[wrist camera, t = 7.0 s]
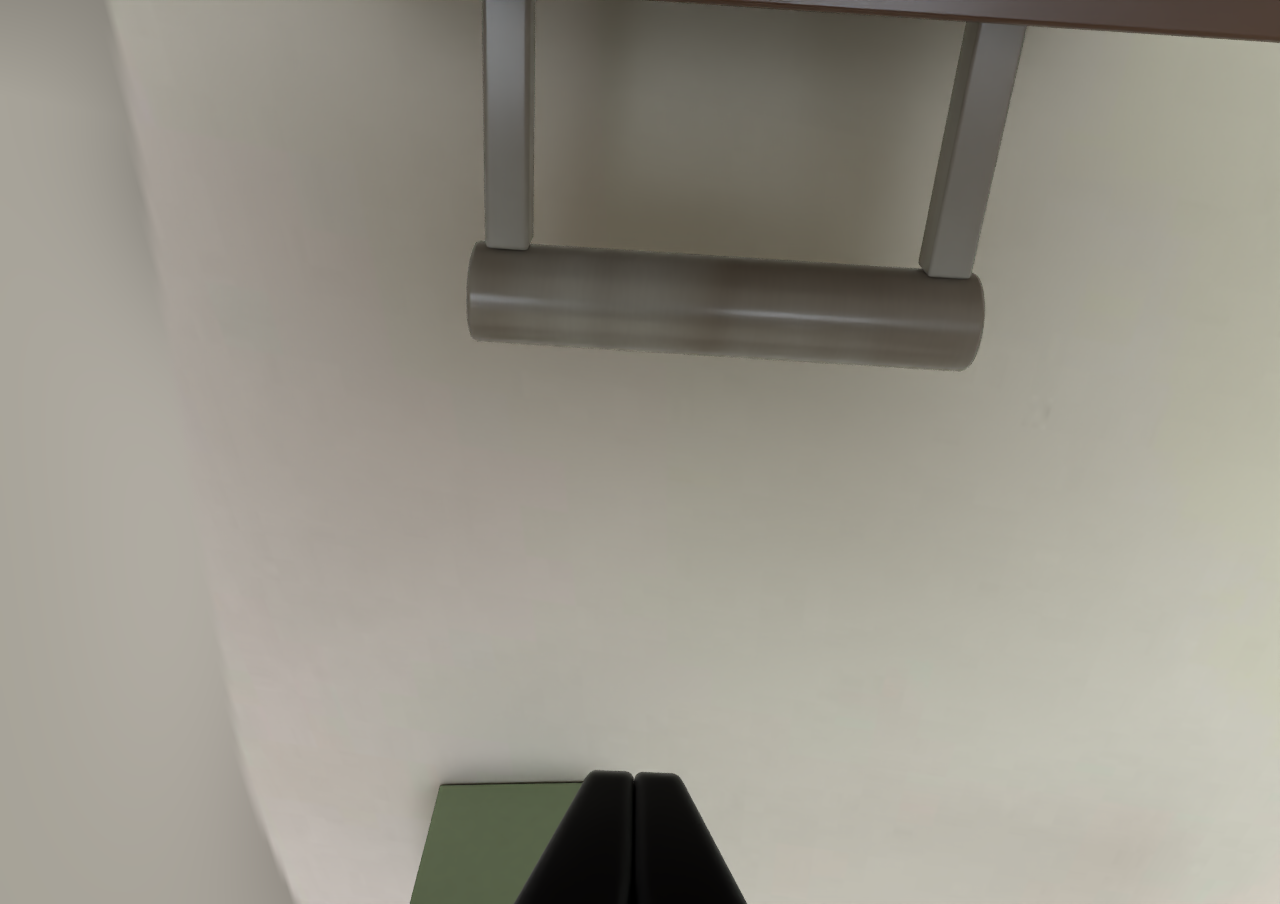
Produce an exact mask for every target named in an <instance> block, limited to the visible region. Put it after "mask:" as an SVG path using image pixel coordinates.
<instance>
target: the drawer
mask: <svg viewBox="0 0 1280 904" xmlns="http://www.w3.org/2000/svg"><path fill="white" fill-rule="evenodd" d="M649 1H664V2H679V3H694V4H709V5H724V6H739V7H753V8H768V9H783V10H798V11H813V12H828V13H843V14H858V15H873V16H888V17H903V18H918V19H933V20H948V21H962V22H966V25H965V30H964V35H963V40H962V45H961V50H960V55H959V60H958V65H957V70H956V75H955V80H954V85H953V90H952V95H951V100H950V105H949V110H948V115H947V121H946V126H945V131H944V136H943V141H942V146H941V151H940V156H939V161H938V166H937V171H936V176H935V181H934V186H933V191H932V196H931V201H930V206H929V211H928V216H927V221H926V227H925V232H924V237H923V242H922V247H921V252H920V257H919V265H920V266H921V268H922V269H917V268H901V267H886V266H870V265H854V264H838V263H823V262H807V261H791V260H776V259H760V258H744V257H729V256H713V255H697V254H682V253H666V252H650V251H634V250H619V249H603V248H587V247H572V246H556V245H540V244H530V243H531V241H532V238H533V221H534V111H535V2H536V0H482V55H483V125H484V195H485V241H479V242H476V243H475V245H474V247H473V249H472V252H471V256H470V261H469V267H468V276H467V296H466V304H467V321H468V328H469V332H470V335H471V337H472V339H473V340H475V341H478V342H495V343H511V344H527V345H543V346H559V347H575V348H591V349H607V350H623V351H639V352H655V353H671V354H687V355H703V356H719V357H735V358H751V359H767V360H783V361H799V362H815V363H831V364H847V365H863V366H879V367H895V368H911V369H927V370H943V371H963V370H965V369H967V368H968V367H969V366H970V365H971V364H972V362H973V360H974V358H975V356H976V354H977V351H978V348H979V345H980V342H981V338H982V333H983V327H984V317H985V301H984V292H983V287H982V283H981V281H980V279H979V277H978V276H977V275H976V274H974V273H972V269H973V264H974V260H975V255H976V251H977V246H978V242H979V238H980V233H981V229H982V224H983V220H984V215H985V211H986V206H987V202H988V198H989V193H990V189H991V184H992V180H993V175H994V171H995V167H996V162H997V158H998V153H999V149H1000V144H1001V140H1002V135H1003V131H1004V127H1005V122H1006V118H1007V113H1008V109H1009V104H1010V100H1011V96H1012V91H1013V87H1014V82H1015V78H1016V73H1017V69H1018V64H1019V60H1020V56H1021V51H1022V47H1023V42H1024V38H1025V33H1026V29H1027V26H1037V27H1052V28H1067V29H1082V30H1097V31H1112V32H1127V33H1142V34H1157V35H1172V36H1186V37H1201V38H1216V39H1231V40H1246V41H1261V42H1276V43H1280V0H649Z"/></svg>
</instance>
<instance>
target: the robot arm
mask: <svg viewBox="0 0 1280 904" xmlns="http://www.w3.org/2000/svg"><path fill="white" fill-rule="evenodd" d="M514 904H747V903H746V901H745V899H744V897H743V895H742V893H741V891H740V889H739V888H738V886H737V884H736V882H735V880H734V878H733V876H732V874H731V872H730V870H729V869H728V867H727V865H726V863H725V861H724V859H723V857H722V855H721V853H720V851H719V850H718V848H717V846H716V844H715V842H714V840H713V838H712V836H711V834H710V832H709V831H708V829H707V827H706V825H705V823H704V821H703V819H702V817H701V815H700V813H699V812H698V810H697V808H696V806H695V804H694V802H693V800H692V798H691V796H690V794H689V793H688V791H687V789H686V787H685V785H684V783H683V781H682V780H681V779H680V777H679V776H677V775H676V774H673V773H653V772H640V773H638V774H637V775H636V777H635V779H633V776H632V774H631V773H629V772H626V771H604V770H594V771H592V772H590V773H589V774H588V775H587V777H586V778H585V780H584V781H583V783H582V785H581V787H580V788H579V790H578V792H577V794H576V795H575V797H574V799H573V801H572V803H571V804H570V806H569V808H568V810H567V811H566V813H565V815H564V817H563V818H562V820H561V822H560V824H559V825H558V827H557V829H556V831H555V832H554V834H553V836H552V838H551V839H550V841H549V843H548V845H547V846H546V848H545V850H544V852H543V853H542V855H541V857H540V859H539V860H538V862H537V864H536V866H535V867H534V869H533V871H532V873H531V874H530V876H529V878H528V880H527V881H526V883H525V885H524V887H523V888H522V890H521V892H520V894H519V895H518V897H517V899H516V901H515V902H514Z"/></svg>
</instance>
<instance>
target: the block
mask: <svg viewBox="0 0 1280 904" xmlns="http://www.w3.org/2000/svg"><path fill="white" fill-rule="evenodd" d="M581 785H582V783H545V784H494V785H442V786H440V788H439V792H438V796H437V800H436V804H435V807H434V811H433V815H432V819H431V823H430V827H429V831H428V835H427V839H426V842H425V846H424V850H423V854H422V858H421V862H420V866H419V870H418V874H417V877H416V881H415V885H414V889H413V893H412V897H411V901H410V904H514V902H515V901H516V899H517V897H518V895H519V894H520V892H521V890H522V888H523V887H524V885H525V883H526V881H527V880H528V878H529V876H530V874H531V873H532V871H533V869H534V867H535V866H536V864H537V862H538V860H539V859H540V857H541V855H542V853H543V852H544V850H545V848H546V846H547V845H548V843H549V841H550V839H551V838H552V836H553V834H554V832H555V831H556V829H557V827H558V825H559V824H560V822H561V820H562V818H563V817H564V815H565V813H566V811H567V810H568V808H569V806H570V804H571V803H572V801H573V799H574V797H575V795H576V794H577V792H578V790H579V788H580V787H581Z"/></svg>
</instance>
